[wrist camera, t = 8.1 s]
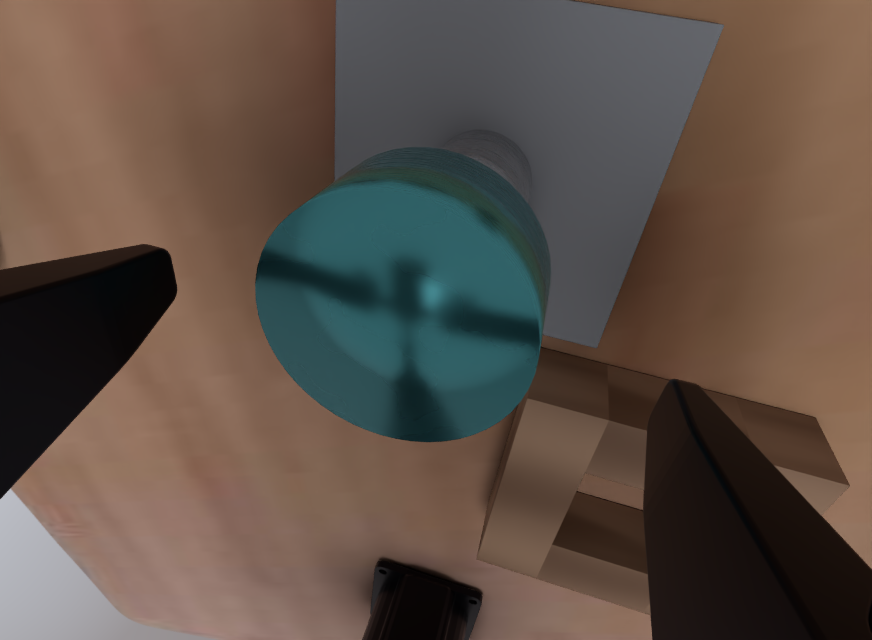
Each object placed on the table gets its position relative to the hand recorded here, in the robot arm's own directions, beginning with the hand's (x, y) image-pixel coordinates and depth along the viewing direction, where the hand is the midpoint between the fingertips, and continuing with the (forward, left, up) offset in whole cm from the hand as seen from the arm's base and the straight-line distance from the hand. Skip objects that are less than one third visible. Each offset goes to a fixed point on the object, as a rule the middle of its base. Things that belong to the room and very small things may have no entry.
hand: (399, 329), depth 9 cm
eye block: (-11, -8, -9) cm, 16 cm away
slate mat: (0, 0, -9) cm, 9 cm away
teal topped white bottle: (0, 0, -8) cm, 9 cm away
